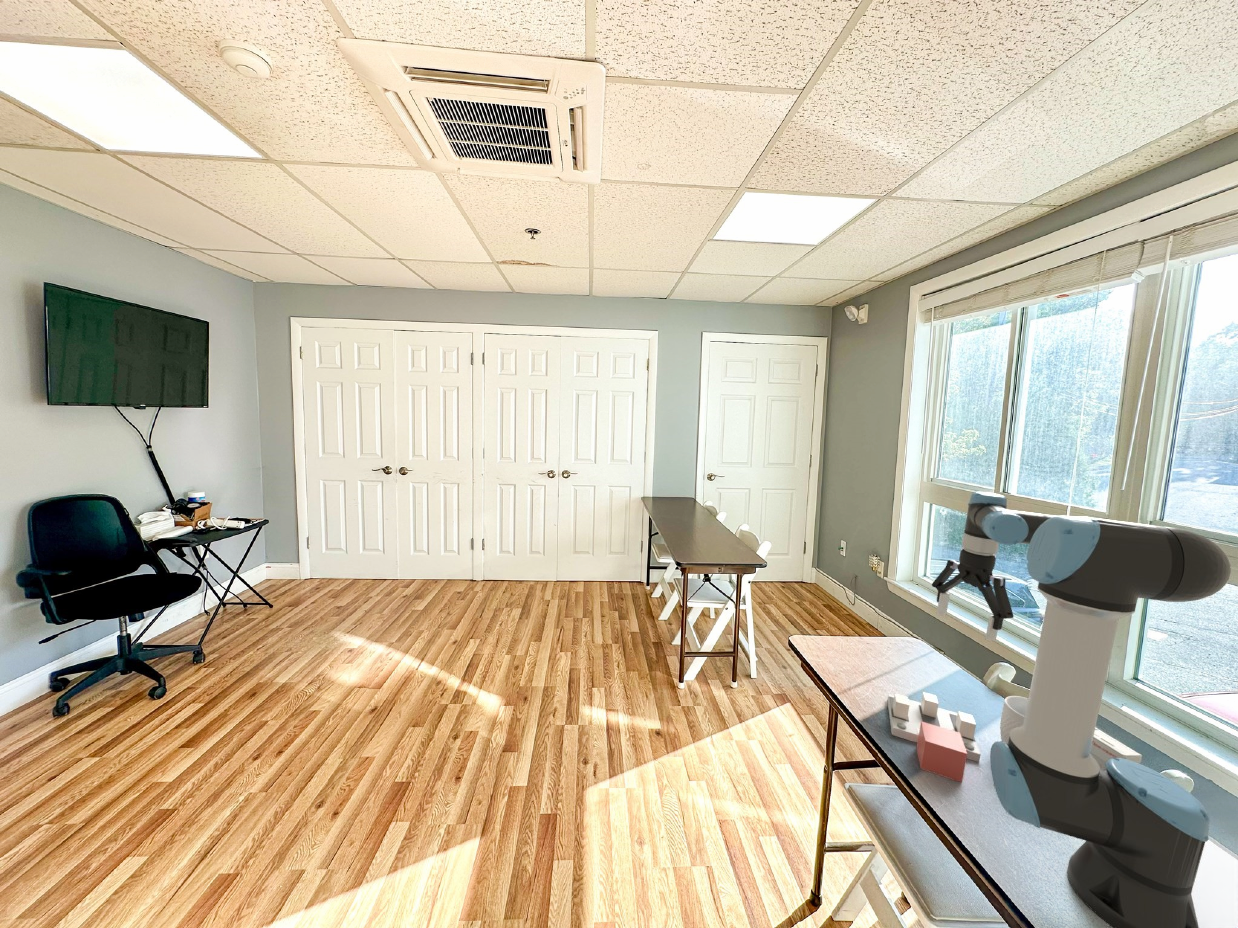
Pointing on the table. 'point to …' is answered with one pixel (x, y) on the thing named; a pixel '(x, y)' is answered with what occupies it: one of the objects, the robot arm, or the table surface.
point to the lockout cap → (941, 751)
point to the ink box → (1110, 749)
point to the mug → (1012, 715)
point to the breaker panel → (915, 716)
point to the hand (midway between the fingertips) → (964, 626)
